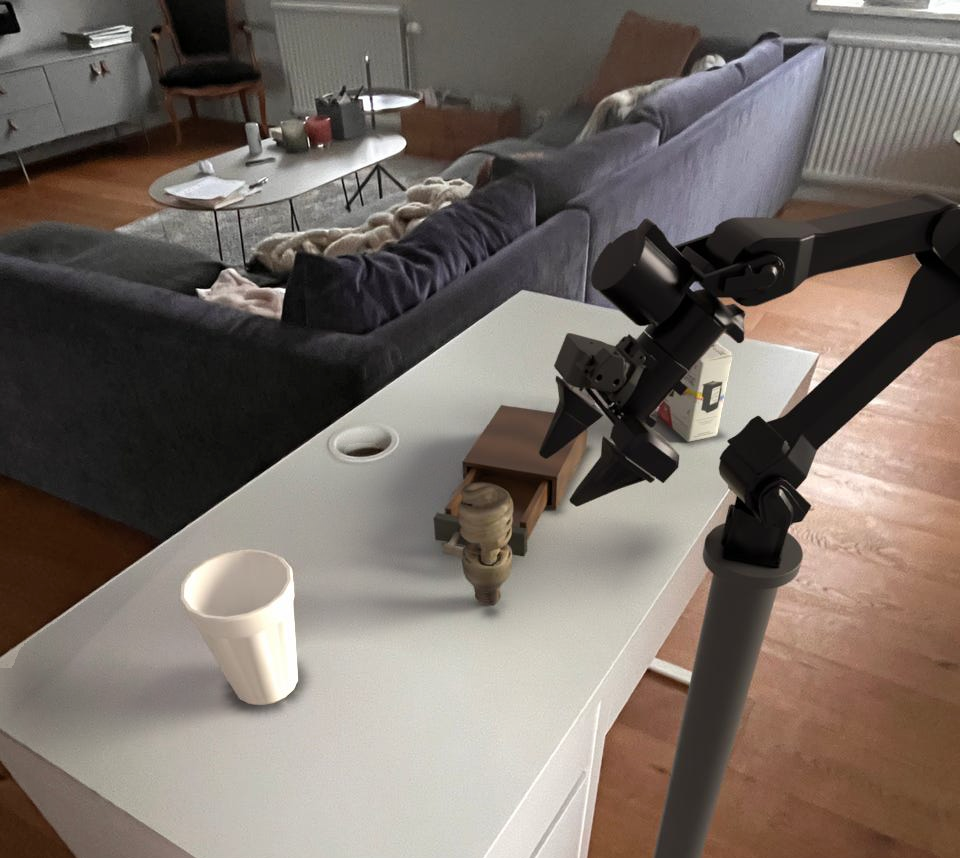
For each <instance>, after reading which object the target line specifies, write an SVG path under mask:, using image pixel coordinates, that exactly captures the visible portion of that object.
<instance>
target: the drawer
mask: <svg viewBox="0 0 960 858" xmlns="http://www.w3.org/2000/svg"><path fill="white" fill-rule="evenodd" d="M552 481H553V480H547V479H541V478H535V477H529V476H523V475H517V474H511V473H505V472H499V471H493V470H487V469H481V468H475V467H472V468H471V470H470V471H469V473H468V474H467V476H466V477H465V479H464V480H463V479H462V482H461V483H460V484H459V487H457V489H456V491H455V493H454V494H453V495H452V497H451V498H450V500H449V501H448V502H447V504H446V506H445V507H444V513H443V512H436V513H435V515H434V516H433V528H434V539H435V541H439V542H444V544H443V545H442V551H441V552H442V554H443V555H445V556H451V557H456V558H460V559H462V551H463V548H464V547H465V545H466V544H467V543H468V541H467V540H465V539H464V538H463V536H462V535H461V534H460V528H461V525H460V524H459V516H460V514H459V512H458V505H459V503H460V502H461V500H462V499H463V498H462V496H461V491H462V489H463V488H464V487H465V486H466V485H468V484H472V483H478V482H485V483H491V484H495V485H497V486H499V487H501V488H503V489H505V490H506V491H507V492H508V493H509V495H510V497H511V499H512V502H513V513H512V517H513V521H512V525H511V527H512V534H511V537H510V539H509V541H508V542H507V544H508V545H509V546H510V548H511V550H512V556H517V557H522V558H524V557H525V556H526V555H527V552H528V540H529V538H530V537H531V534H532V532H533V531H534V529H535V527H536V525H537V523H538V521H539V519H540V517H541V515H542V514H543V512H544V509H546V508H545V506H546V504H547V502H548V500H549V498H550V496H551V494H552Z"/></svg>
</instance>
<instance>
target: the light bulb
mask: <svg viewBox="0 0 960 858" xmlns="http://www.w3.org/2000/svg"><path fill="white" fill-rule="evenodd" d="M461 496H462V498H463V499H462V500H461V502H460V503H459V505H458V512H459V514H460V516H459V524H460V525H461V528H460V534H461V535H462V536H463V538H464V539H465V540H467V541H468V543H467V544H466V545H465V546H463V547H464V548H463V551H462V558H461V564H462V565H461V566H462V573H463V576H464V578H465V579H466V580H467V582H468V583H469V584H470V585H472V586H473V589H474V598H475V599H476V601H477V602H478V603H479V604H480V605H482V606H485V607H490V606H495V605H496V604H497V603H498V602H499V600H500V599H501V587H502V585H503V584H504V583H506V581H507V580H508V579H509V578H510V575H511V572H512V564H513V555H512V550H511V548H510V546H509V545H508V544H507V542H508V541H509V539H510V537H511V534H512V527H511V525H512V521H513V517H512V513H513V502H512V499H511V497H510V495H509V493H508V492H507V491H506V490H505V489H503V488H501V487H499V486H497V485H495V484H491V483H485V482H478V483H472V484H468V485H466V486H465V487H464V488H463V489H462V491H461Z"/></svg>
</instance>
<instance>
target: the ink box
mask: <svg viewBox="0 0 960 858" xmlns="http://www.w3.org/2000/svg"><path fill="white" fill-rule="evenodd" d="M732 362H733V354H732V352H731V351H730V350H728V349H727V348H726V347H724V346H723V345H721V344H720V343H719V342H717V341H716V342H715V343H714V345H713V346H712V347H711V348H710V349H709V350H708V351H707V353H706V354H705V355H704V356H703V357H702V358H701V359H700V360H699V362H698V363H697V364H696V365H695V366H694V367H693V368H692V370H691V371H688V370H687V369H686V368H685V367H684V366H683V367H684V368H685V369H686V370H687V371H688V372H689V373H688V374H687V375H686V376H685V378H684V379H683V380H682V382H683V383H684V384H685V385H686V386H687V387H688V388H687V389H686V391H685V392H684V393H683V394H682V395H681V396H680V395H679V394H678V393H677V392H675V391H674V390H673V391H672V392H671V393H670V394H669V396H668V397H667V398H666V399H665V400H664V401H663V402H662V404H661V405H660V406H659V407H658V412H657V416H658V417H659V418H660V419H661V420H662V421H663V422H664V423H666V424H667V425H668V426H669V427H671V429H673V430H674V432H676V433H677V434H678V435H679V436H681V438H683V439H684V440H685V441H686V442H688V443H689V442H694V441H698V440H703V439H709V438H711V437H717V435H718V431H719V426H720V422H721V416H722V411H723V406H724V400H725V395H726V391H727V385H728V380H729V375H730V371H731V370H730V369H731V365H732Z"/></svg>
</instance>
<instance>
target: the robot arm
mask: <svg viewBox="0 0 960 858" xmlns="http://www.w3.org/2000/svg"><path fill="white" fill-rule="evenodd" d="M911 255H912V257H913V258H914V260H915V262H917V263H918V265H919V266H920V267H919V268H918V269H917V270H916V272H914V274H913V275H912V277H911V278H910V280H909V283H908V284H907V288H906V290H905V293H904V295H903V298H902V300H901V304H900V306H899V308H898V309H896V311H895V312H894V313H893V314H892V315H891V316H890V317H889V318H888V319H887V320H886V321H884V322H883V323H882V324H881V325H880V326H879V327H878V328H877V329H876V330H875V331H874V332H873V333H871V335H870V336H868V337H867V338H866V339H865V340H864V341H863V342H861V344H860V345H859V346H857V348H855V349H854V350H853V351H852V353H850V354H849V355H848V356H847V357H846V358H845V359H844V360H843V361H842V362H840V364H838V366H836V367H835V368H834V369H833V370H832V371H830V373H828V375H826V377H824V379H822V380H821V382H819V383H818V384H817V385H816V386H815V387H814V388H813V389H812V390H810V392H809V393H808V394H806V395H805V396H804V397H803V398H802V399H801V400H800V401H799V402H797V404H796V405H795V406H794V407H793V408H791V409H790V410H789V411H788V412H787V413H786V414H784V415H782V416H780V417H777V418H775V419H771V420H769V421H766V420H764V418H763V417H761V415H756V416H755V417H753V418H751V419H750V420H749V421H748V422H747V424H746V425H745V426H744V427H743V428H742V429H741V430H740V431H739V432H738V433H737V434H736V435H734V436H731V438H728V439H727V441H726V442H727V443H728V445H727V446H726V448H725V449H724V450H723V451H722V453H721V454H720V456H719V465H718V473H719V476H720V478H721V479H722V480H723V481H724V482H725V483H726V485H727V487H728V489H729V490H730V491H732V492H733V493H734V495H736V496H735V502H734V504H732V503H731V504H729V505H728V509H727V513H726V516H725V522H724V523H725V526H724V531H723V535H722V540H721V544H722V545H723V546H724V550H723V554H722V558H723V559H726V560H731V561H736V562H742V563H747V564H753V565H759V566H764V567H770V568H775V569H778V568H780V565H781V560H782V553H783V547H784V543H785V540H786V536H787V533H789V529H790V527H791V525H793V524H797V523H802V522H803V520H804V519H806V516H807V515H808V514H809V511H810V510H811V508H812V504H811V503H810V502H809V501H808V500H807V499H806V498H805V497H804V496H803V495H802V494H801V493H800V492H799V491H798V490H797V489H798V488H799V487H801V485H802V484H803V483H804V482H805V481H806V480H807V478H808V475H809V473H810V470H811V467H812V466H813V462H814V459H815V457H816V454H817V452H818V451H819V449H820V448H821V447H822V446H823V445H824V444H825V443H826V442H828V441H829V440H830V439H831V438H832V437H833V436H834V435H836V433H838V432H839V431H840V430H841V429H842V428H843V427H845V426H846V424H848V423H849V422H850V421H851V420H852V419H853V418H854V417H855V416H856V415H858V414H859V413H860V412H861V411H862V410H863V409H864V408H865V407H866V406H867V405H869V404H870V403H871V402H872V401H873V400H874V399H875V398H876V397H878V396H879V395H880V394H881V393H882V392H884V390H886V388H888V387H889V386H890V385H891V384H892V383H893V382H894V381H895V380H897V378H898V377H900V376H901V375H902V374H903V373H904V372H906V371H907V370H908V369H909V368H910V367H911V366H912V365H913V364H914V363H916V361H917V360H919V359H920V358H921V357H922V356H923V355H924V354H925V353H926V352H928V350H930V349H931V348H932V347H933V346H935V345H936V344H938V343H941V342H944V341H946V340H949V339H953V338H955V337H958V336H960V203H959V202H956V201H954V200H951V199H949V198H947V197H945V196H942V195H939V194H937V193H936V192H925V193H920V194H917V195H915V196H913V197H912V198H909V199H905V200H899V201H895V202H890V203H885V204H880V205H874V206H870V207H866V208H859V209H855V210H851V211H846V212H842V213H836V214H832V215H826V216H822V217H817V218H813V219H807V220H787V219H781V218H774V217H767V216H765V217H764V216H762V217H761V216H760V217H759V216H757V217H756V216H755V217H753V216H751V217H750V216H749V217H748V216H747V217H746V216H744V217H743V216H742V217H741V216H740V217H739V216H736V217H731V218H729V219H726V220H723V221H721V222H720V223H718V224H717V225H716V226H715V228H714V230H713V231H712V232H710V233H707V234H704V235H702V236H699V237H696V238H694V239H693V238H692V239H691V240H687V241H684V242H682V243H679V244H675V245H673V244H672V242H670V240H669V239H668V237H667V235H666V233H665V232H664V231H663V230H662V229H661V228H660V227H659V226H658V225H657V224H656V223H655V222H653V221H651V219H649V218H648V217H646V218H644V219H643V220H642V221H641V222H640V224H639V225H638V226H637V227H636V228H635V229H631V230H628V231H625V232H623V233H622V234H621V235H619V236H618V237H616V238H615V239H614V240H613V241H612V242H611V241H610V242H608V243H607V244H606V245H605V247H603V249H602V251H601V252H600V253H599V255H598V256H597V259H596V261H595V263H594V265H593V267H592V270H591V275H590V283H591V285H592V288H593V289H594V290H595V291H597V292H598V294H600V295H601V296H603V298H605V299H606V300H607V301H608V302H609V303H610V304H611V305H613V306H614V307H615V308H616V309H617V310H618V311H619V312H621V313H622V314H623V315H624V316H625V317H626V318H628V319H629V320H630V321H631V322H632V323H634V325H636V326H637V327H638V326H639V327H646V328H644V329H643V331H642V332H641V333H640V335H638V337H637V338H634V337H633V336H632V335H631V334H630V333H628V335H625V336H623V337H621V339H620V340H619V341H618V343H616V344H615V345H613V344H609V343H607V342H604V341H601V340H598V339H595V338H591V337H587V336H583V335H579V334H576V333H571V332H567V333H566V334H565V337H564V339H563V341H562V344H561V347H560V348H559V351H558V354H557V357H556V359H555V362H554V365H553V367H554V369H555V370H556V371H557V372H558V374H559V375H560V376H561V377H560V376H558V375H555V383H556V386H557V393H558V403H557V406H556V409H555V412H554V413H555V414H554V417H553V419H552V422H551V424H550V427H549V429H548V431H547V434H546V436H545V439H544V441H543V443H542V446H541V448H540V451H539V454H540V456H542V457H543V458H545V459H547V458H549V457H550V456H552V455H553V454H555V453H556V452H558V451H559V450H561V449H562V448H563V447H564V446H566V445H567V444H568V443H569V442H571V441H572V440H573V439H575V438H576V437H577V436H578V435H580V434H581V433H582V432H583V431H585V430H586V429H587V428H588V429H589V428H590V427H591V426H593V425H594V424H595V423H596V422H598V421H599V420H600V419H602V418H603V417H604V416H606V418H608V420H609V421H610V422H611V424H612V428H611V430H610V431H611V432H610V436H609V438H607V437H605V435H602V437H601V446H600V447H601V448H600V449H601V450H600V456H599V458H598V459H597V461H595V462H594V465H593V466H592V467H591V468H590V469H589V471H588V472H587V474H586V475H585V476H584V478H583V479H581V482H580V483H579V484H578V485H577V487H576V488H575V489H574V492H573V493H572V494H571V496H570V497H569V503H570V504H571V505H573V506H575V507H581V506H582V505H583V506H584V505H585V504H588V503H589V502H592V501H594V500H596V499H599V498H601V497H604V496H606V495H608V494H611V493H613V492H616V491H618V490H621V489H624V488H626V487H630V486H633V485H635V484H638V483H641V482H644V481H645V482H648V483H649V484H651V483H652V484H653V482H654V481H656V480H658V481H659V482H660V483H662V484H664V483H666V482H667V481H668V479H669V478H670V477H672V475H673V474H674V473H675V472H676V471H677V470H678V468H679V466H680V465H679V464H680V454H679V453H678V452H677V451H676V450H675V448H674V447H673V446H672V444H670V443H669V442H668V441H667V439H666V438H665V437H664V436H663V435H661V434H660V433H659V432H657V431H656V430H655V429H654V426H656V424H658V420H656V418H655V417H654V416H653V414H654V413H655V412H656V411H657V409H659V406H660V405H661V404H662V402H663V401H664V400H665V399H666V398H667V397H668V396H669V394H670V393H671V392H672V391H673V390H674V391H675V392H677V393H678V394H679V395H680V396H681V395H682V394H683V393H684V392H685V391H686V389H687V388H688V387H687V386H686V385H685V384H684V383H683V382H682V380H683V379H684V378H685V376H686V375H687V374H688V373H689V372H688V371H691V370H692V368H693V367H694V366H695V365H696V364H697V363H698V362H699V360H700V359H701V358H702V357H703V356H704V355H705V354H706V353H707V351H708V350H709V349H710V348H711V347H712V346H713V345H714V343H715V342H717V341H718V340H719V339H720V338H721V337H722V336H723V334H724V333H725V334H726V335H727V336H728V337H729V338H731V339H732V340H733V341H734V342H735V343H737V344H742V343H743V342H744V341H745V322H744V321H745V317H746V311H745V310H744V309H742V308H741V307H740V306H743V307H746V308H749V307H750V308H752V307H758V306H761V305H764V304H766V303H769V302H772V301H774V300H777V299H779V298H781V297H784V296H786V295H790V294H792V292H794V291H795V290H796V289H797V288H799V286H800V285H802V284H803V283H804V282H805V281H806V280H809V279H811V278H814V277H816V276H819V275H824V274H828V273H832V272H837V271H840V270H846V269H850V268H851V269H852V268H855V267H860V266H864V265H869V264H874V263H878V262H883V261H888V260H891V259H897V258H902V257H906V256H911ZM694 283H696V284H698V285H699V286H700V287H701V289H697V290H692V289H691V287H692V286H693V284H694ZM702 288H703V289H702ZM721 298H722V299H731V300H733V301H734V302H735V303H736V304H735V303H729V304H724V303H723V301H721ZM738 304H739V306H738ZM683 366H684V367H685V368H686V369H687V370H688V371H687V370H686V369H685V368H684V367H683ZM599 408H600V409H599ZM604 414H605V415H604ZM588 429H587V430H588ZM609 439H610V440H609Z"/></svg>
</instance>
